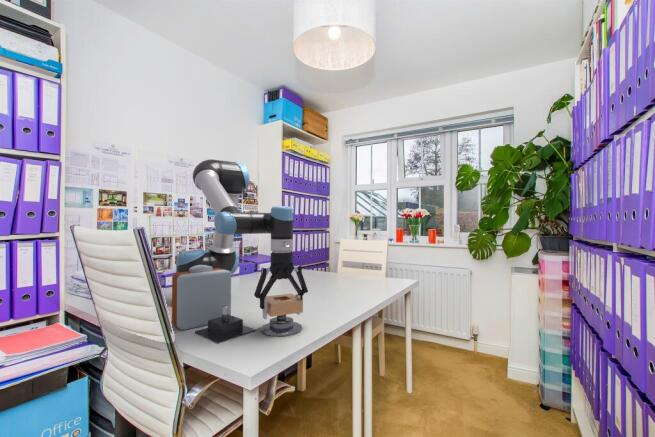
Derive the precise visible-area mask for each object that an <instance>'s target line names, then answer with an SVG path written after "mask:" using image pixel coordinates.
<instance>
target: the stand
mask: <svg viewBox="0 0 655 437" xmlns="http://www.w3.org/2000/svg"><path fill="white" fill-rule="evenodd" d="M256 331H257V330H256V329H255V328H253V327H250V326H247V325H245V324H244V320H243V318H240V317H237V316H234V315H232V314H231V315H229V305H224V306H222V317H219V318H215V319H211V320H208V325H207V327H205V328H202V329H198V330H194V334H196V335H199V336H201V337H202V338H205V339H207V340H209V341H211V342H213V343H215V344H220V343H224V342H227V341H230V340H233V339H236V338H240V337H242V336H245V335H249V334H251V333H255V332H256Z"/></svg>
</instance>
